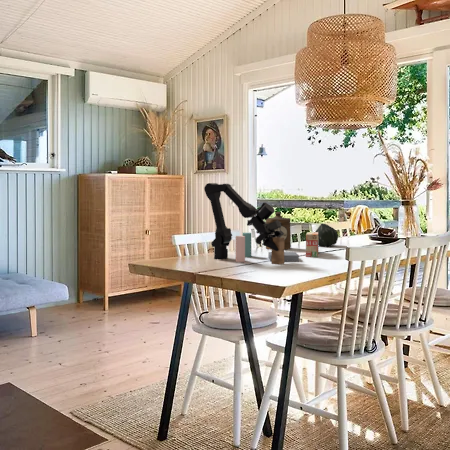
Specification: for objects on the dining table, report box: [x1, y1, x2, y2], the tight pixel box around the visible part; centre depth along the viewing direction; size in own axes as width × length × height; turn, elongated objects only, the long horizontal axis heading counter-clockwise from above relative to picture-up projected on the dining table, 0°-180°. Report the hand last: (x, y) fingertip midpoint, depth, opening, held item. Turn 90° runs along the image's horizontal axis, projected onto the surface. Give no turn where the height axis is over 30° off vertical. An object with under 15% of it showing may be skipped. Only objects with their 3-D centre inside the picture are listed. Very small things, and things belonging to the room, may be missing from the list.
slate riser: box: [267, 251, 300, 262], centre depth 278 cm, size 14×14×3 cm
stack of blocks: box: [305, 231, 319, 258], centre depth 298 cm, size 21×6×12 cm, turn 169°
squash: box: [315, 222, 339, 247], centre depth 341 cm, size 14×15×15 cm
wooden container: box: [265, 211, 292, 251], centre depth 328 cm, size 15×15×22 cm
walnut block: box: [271, 237, 285, 265], centre depth 264 cm, size 4×4×12 cm
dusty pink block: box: [235, 235, 246, 263], centre depth 271 cm, size 4×4×12 cm
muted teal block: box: [242, 232, 252, 258], centre depth 291 cm, size 4×4×12 cm
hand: (280, 250), depth 263 cm, fingers open, 5 cm apart
